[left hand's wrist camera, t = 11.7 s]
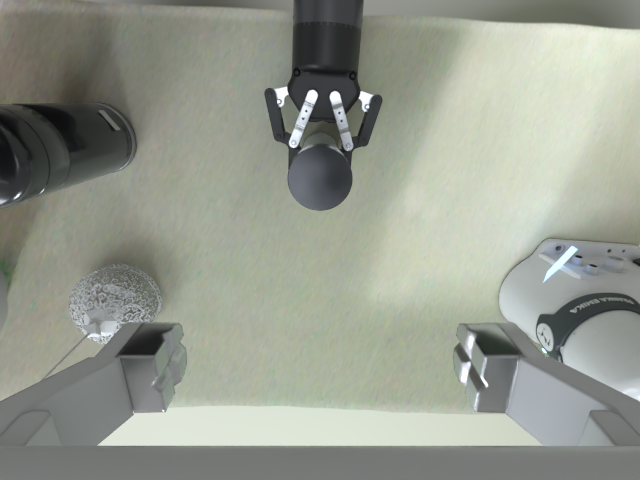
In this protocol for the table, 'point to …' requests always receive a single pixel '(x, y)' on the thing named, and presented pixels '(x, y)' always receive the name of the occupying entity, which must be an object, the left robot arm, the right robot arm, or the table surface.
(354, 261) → the table surface
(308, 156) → the lid
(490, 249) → the table surface
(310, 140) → the blue bottle
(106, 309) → the pendant light
